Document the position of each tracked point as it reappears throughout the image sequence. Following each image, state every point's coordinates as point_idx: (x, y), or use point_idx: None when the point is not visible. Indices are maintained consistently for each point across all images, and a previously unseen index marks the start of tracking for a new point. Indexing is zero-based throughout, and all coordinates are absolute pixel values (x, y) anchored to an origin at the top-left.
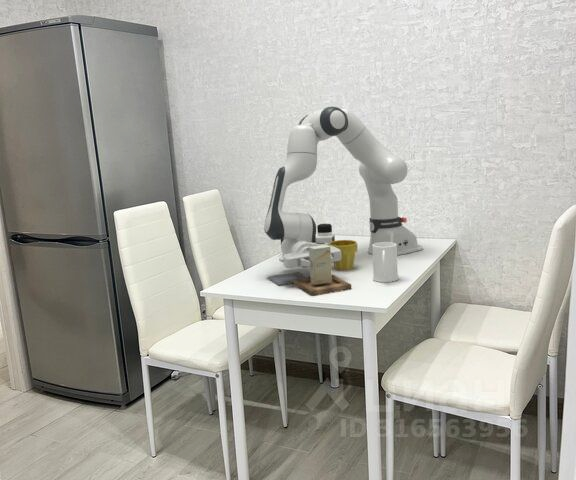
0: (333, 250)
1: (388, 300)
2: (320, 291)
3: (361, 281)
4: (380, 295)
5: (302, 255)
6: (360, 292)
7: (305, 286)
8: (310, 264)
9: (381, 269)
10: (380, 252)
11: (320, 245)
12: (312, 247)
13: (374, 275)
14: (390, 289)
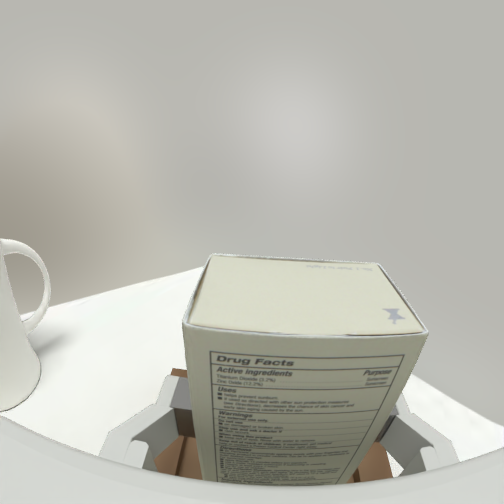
0: (13, 462)
1: (178, 277)
2: None
3: (60, 424)
4: (160, 301)
5: (447, 495)
6: (180, 342)
7: (377, 444)
8: None
9: (21, 323)
10: (1, 254)
11: (264, 326)
12: (387, 297)
13: (22, 375)
14: (96, 314)
